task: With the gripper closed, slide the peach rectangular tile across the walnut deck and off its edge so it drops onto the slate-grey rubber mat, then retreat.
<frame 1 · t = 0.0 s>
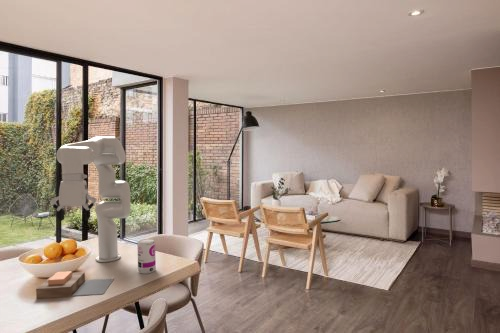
hand: (74, 219, 133), 31 cm above the table, fingers open, 9 cm apart
deck: (62, 289, 141), on the table
peach rectangular tile: (60, 279, 140), point 4 cm above the table, touching deck
mat: (94, 287, 143), on the table
supplement can: (147, 271, 161), on the table
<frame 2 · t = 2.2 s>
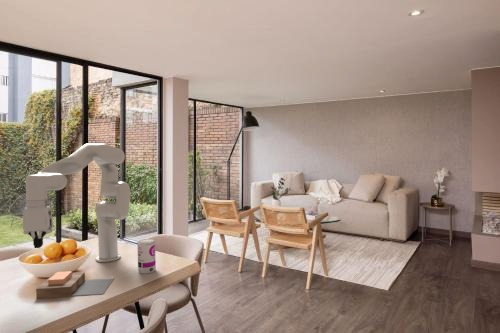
hand: (38, 247, 138), 19 cm above the table, fingers closed
nothing on the table moved.
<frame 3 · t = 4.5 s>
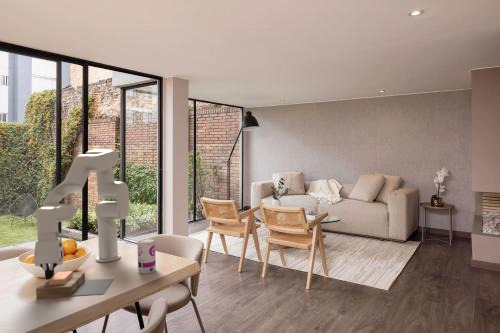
hand: (49, 278, 140), 5 cm above the table, fingers closed
peach rectangular tile: (61, 279, 140), point 4 cm above the table, touching gripper
everything else where it was.
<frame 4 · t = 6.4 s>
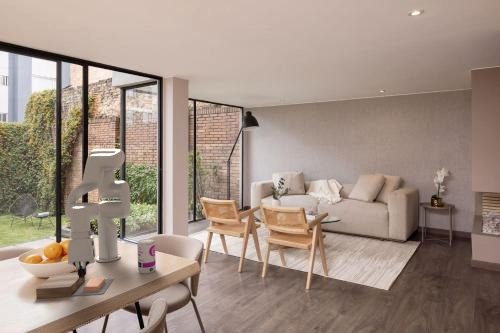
hand: (82, 276, 142), 5 cm above the table, fingers closed
peach rectangular tile: (94, 282, 142), point 2 cm above the table, tilted 180°, touching mat
everything else where it was.
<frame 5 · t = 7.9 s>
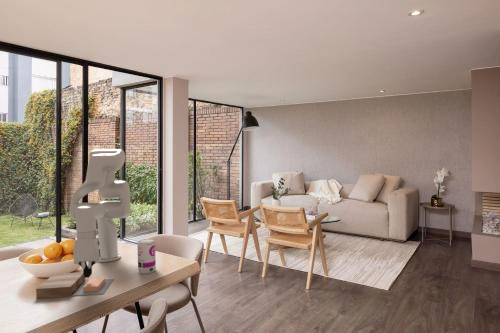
hand: (87, 276, 142), 5 cm above the table, fingers closed
nothing on the table moved.
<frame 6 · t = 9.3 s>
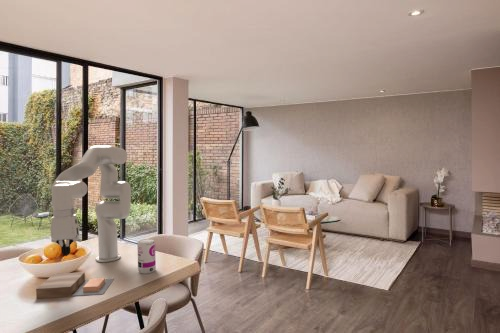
hand: (66, 254, 141), 15 cm above the table, fingers closed
nothing on the table moved.
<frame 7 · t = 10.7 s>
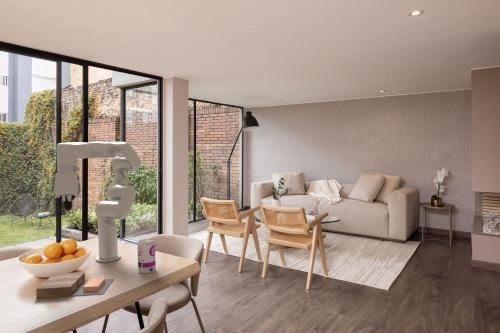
hand: (68, 209, 152), 32 cm above the table, fingers closed
nothing on the table moved.
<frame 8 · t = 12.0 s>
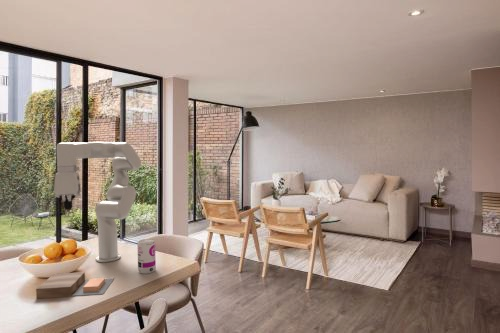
hand: (68, 209, 152), 32 cm above the table, fingers closed
nothing on the table moved.
at the end: peach rectangular tile point 2.3 cm above the table; peach rectangular tile inside the target area on the mat (0.4 cm from its centre), point 2.3 cm above the mat's base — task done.
